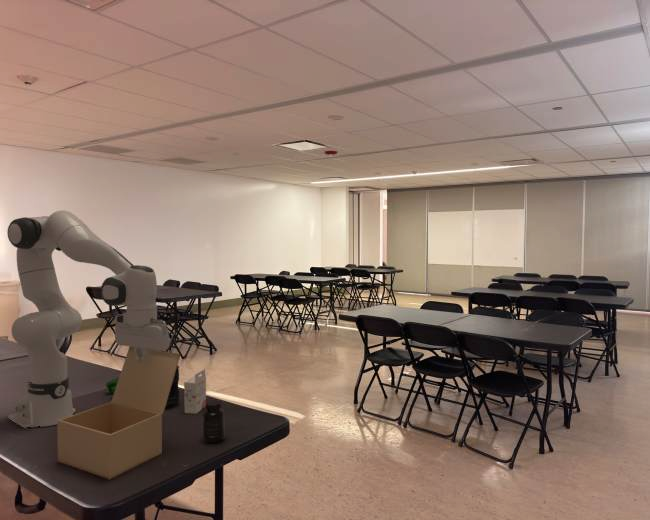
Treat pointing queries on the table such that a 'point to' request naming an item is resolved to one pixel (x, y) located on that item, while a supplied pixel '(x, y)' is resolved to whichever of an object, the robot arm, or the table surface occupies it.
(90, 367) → the table surface
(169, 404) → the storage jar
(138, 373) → the flap
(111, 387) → the green bumpy lump
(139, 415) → the carton
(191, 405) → the ink cartridge box
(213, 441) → the supplement bottle
